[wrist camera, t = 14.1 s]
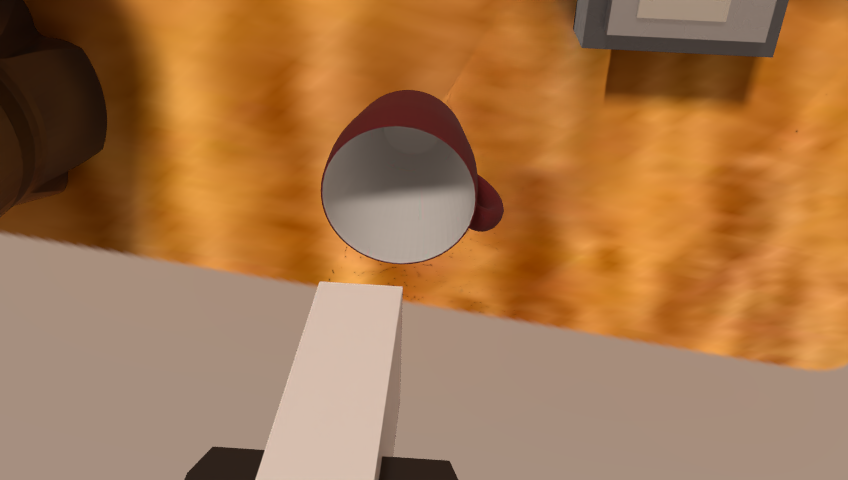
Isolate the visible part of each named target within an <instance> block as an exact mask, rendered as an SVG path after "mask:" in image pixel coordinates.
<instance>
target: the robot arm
mask: <svg viewBox="0 0 848 480" xmlns="http://www.w3.org/2000/svg"><path fill="white" fill-rule="evenodd" d="M106 130H107V113H106V105H105V100H104V95H103V92H102V88H101V85H100V82H99V80H98V77H97V75H96V73H95V70H94V68H93V66H92V64H91V63H90V61H89V59H88V57H87V56H86V54H85V53H84V51H83V49H81V48H80V47H78V46H76V45H74V44H72V43H69V42H67V41H64V40H60V39H55V38H48V37H45V36H43V35H41V34H40V33H39V32H38V31H37V30H36V28H35V26H34V23H33V19H32V17H31V14H30V12H29V10H28V8H27V6H26V4H25V2H24V1H23V0H0V217H1V216H2V215H3V214H4V213H5V212H7V211H8V210H9V209H10V208H11V207H12V206H14V205H18V204H22V203H25V202H29V201H32V200H36V199H40V198H43V197H47V196H51V195H54V194H57V193H60V192H63V191H64V190H65V188H66V185H67V180H68V171H69V170H71V169H73V168H74V167H76V166H78V165H80V164H81V163H83V162H84V161H86V160H88V159H89V158H91V157H92V156H94V155H95V154H96V153H98V152H99V151H100V150H102V149H103V146H104V142H105V138H106ZM402 291H403V287H400V286H383V285H367V284H350V283H334V282H319V285H318V288H317V291H316V294H315V297H314V301H313V304H312V307H311V310H310V313H309V316H308V319H307V322H306V325H305V328H304V331H303V334H302V337H301V341H300V344H299V347H298V350H297V353H296V356H295V359H294V362H293V365H292V368H291V371H290V374H289V377H288V381H287V384H286V387H285V390H284V393H283V396H282V399H281V402H280V405H279V408H278V412H277V415H276V417H275V421H274V424H273V427H272V430H271V433H270V436H269V439H268V442H267V445H266V448H265V450H254V449H238V448H225V447H224V448H223V447H212V448H211V449H210V450H209V451H208V452H207V453H206V454H205V455H204V456H203V457H202V458H201V459H200V460H199V461H198V463H197V464H196V465H195V466H194V467H193V468H192V469H191V470H190V471H189V472H188V473H187V475H186V478H185V480H458V479H457V476H456V474H455V472H454V470H453V468H452V465H451V463H450V461H444V460H429V459H428V460H427V459H414V458H400V457H393V453H394V445H395V437H396V428H397V420H398V412H399V404H400V373H401V333H402V331H401V330H402Z"/></svg>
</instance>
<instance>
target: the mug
mask: <svg viewBox="0 0 848 480" xmlns="http://www.w3.org/2000/svg"><path fill="white" fill-rule="evenodd" d="M321 199H322V205H323V209H324V212H325V215H326V217H327V219H328V221H329V223H330V225H331V226H332V228H333V230H334V231H335V232H336V234H337V235H338V236H339V237H340V238H341V239H342V240H343V241H344V242H345V243H346V244H347V245H349V246H350V247H351V248H353V249H354V250H356V251H357V252H359V253H361V254H363V255H365V256H367V257H369V258H372V259H374V260H378V261H381V262H386V263H392V264H413V263H419V262H424V261H427V260H430V259H433V258H435V257H437V256H439V255H441V254H443V253H445V252H446V251H448V250H449V249H451V248H452V247H453V246H454V245H456V244H457V243H458V242H459V241H460V239H461V238H462V237H463V236H464V235H465V233H466V232H467V230H468V228H470V229H472V230H475V231H488V230H490V229H492V228H494V227H495V226H496V225H497V224H498V223H499V222H500V220H501V219H502V215H503V212H504V209H503V203H502V200H501V198H500V196H499V195H498V193H497V192H496V190H495V189H494V188H493V187H492V186H491V185H490V184H489V183H488V182H487V181H486V180H484V179H483V178H482V177H481V176H479V175H478V174H477V168H476V162H475V158H474V155H473V152H472V149H471V147H470V144H469V142H468V140H467V138H466V136H465V133H464V131H463V129H462V127H461V125H460V123H459V121H458V119H457V118H456V116H455V114H454V113H453V112H452V111H451V109H450V108H449V107H448V106H447V105H445V104H444V103H443V102H442V101H440V100H439V99H437V98H436V97H434V96H432V95H430V94H427V93H424V92H420V91H414V90H402V91H396V92H392V93H389V94H386V95H384V96H382V97H380V98H378V99H377V100H375V101H374V102H372V103H371V104H370V105H369V106H368V107H367V108H366V109H364V110H363V111H362V112H361V113H360V114H359V115H358V116H357V117H356V118H355V119H354V120H353V121H352V122H351V123H350V124H349V125H348V126H347V127H346V128H345V129H344V130H343V132H342V133H341V135H340V136H339V137H338V139H337V141H336V143H335V144H334V146H333V148H332V151H331V153H330V155H329V158H328V160H327V163H326V166H325V169H324V173H323V177H322V182H321Z"/></svg>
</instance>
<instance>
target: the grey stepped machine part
mask: <svg viewBox="0 0 848 480" xmlns="http://www.w3.org/2000/svg"><path fill="white" fill-rule="evenodd" d="M788 1H789V0H577V3H576V10H575V17H574V25H573V30H574V32H575V34H576V36H577V38H578V40H579V43H580V45H581V47H582V48H595V49H615V50H635V51H655V52H675V53H695V54H715V55H735V56H755V57H773V55H774V51H775V47H776V44H777V40H778V37H779V33H780V30H781V26H782V22H783V19H784V15H785V12H786V8H787V4H788Z"/></svg>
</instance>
